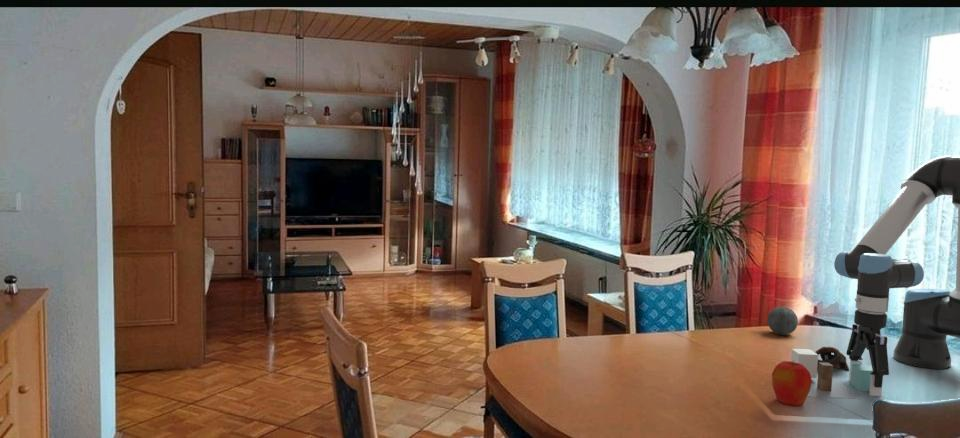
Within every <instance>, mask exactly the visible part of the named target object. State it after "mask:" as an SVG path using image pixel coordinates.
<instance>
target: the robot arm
mask: <svg viewBox="0 0 960 438" xmlns="http://www.w3.org/2000/svg"><path fill="white" fill-rule="evenodd" d="M941 196H951V197H952V200H951V201H952V202H951V203H952V204H953V206H955V207H956V208H957V210H958V211H957V234H956V235H957V241H956V270H955V271H956V272H955V274H956V275H955V289H953V290H952V291H950V290H947V289H938V288H913V289H909V290H907V291H906V292H905V296H904V301H903V313H902V314H903V315H902V329H901V335H900V337H899V339H898V341H897V343H896V345H895V348H894V350H893V359H894V360H896V361H898V362H900V363H903V364H906V365H909V366H915V367H919V368H925V369H936V370H937V369H939V370H940V369H941V370H943V369H944V370H945V369H949V368H950V367H951V366H952V358H951V353H950V350H949V345H948V342H947V336H950V337H953V338H958V339H960V155H941V156H938V157H935V158H932V159H930V160H928V161H927V162H925V163H923V164H921V165H920V166H918V167H917V168H916V169H915V170H913V171H911V173H910V174H908V176H907V177H906V178H905V179H904V180H903V182H902V183H901V185H900V191H899V193H898V194H897V195H896V196H895V198H893V200H892V201H891V202H890V204H889V205H888V206H887V207H886V209H885V210H884V211H883V212H882V213H881V215H880V216H879V217H878V218H877V219H876V221H875V222H874V223H873V225H872V226H871V227H870V228H869V230H868V231H867V232H866V233H865V234H864V236H863V237H862V238H861V240H860V241H859V242H858V243H857V245H856V246H855V247H854V248H853V249H852V251H850V250H848V251H845V250H844V251H841V252H838V254H837V255H836V256H835V260H834V263H833V266H834V270H835V271H836V273H837V274H838V275H839V276H843V277H845V278H848V279H851V280H853V279H854V280H857V284H856V285H857V290H856V297H855V298H854V301H855V308H856V309H855V311H854V318H853V322H854V324H852V327H851V334H850V338H849V342H848V345H847V349H846V356H848V357H849V358H848V359H849V360H850V361H849V374H848V381H849V382H851V371H852V364H857V365H863V364H862V363H863V358H862V356H863V354H864V353H865V350H867V351H868V354H869V358H870V359H869V360H870V365H872V369H873V372H871V373H870V374H871V379H870V391H868V393H869V394H868V395H869V396H872V397H874V396H875V397H882V393H883V391H882V390H883V381H884V380H883V379H884V376H889V375H890V371H889V370H890V369H889V357H888V356H889V354H888V337H887V336H883V335H882V334H881V329H885V328H886V327H887V321H888V314H887V312H888V311H889V302H890V301H889V300H890V297H889V296H890V289H901V288H903V289H904V288H905V289H908V288H912V287H916V286H918V285H920V284H921V283H922V282H923V279H924V277H925V274H924V273H925V271H924V268H923V267H922V265H921V264H920V263H919V262H918V261H916V260H914V259H913V260H912V259H905V258H904V259H894V258H893V257H892V256H891V255H889V254H887V253H888V252H889V251H890V250H891V248H892V247H893V246H894V245H895V243H897V241H898V240H899V238H900V237H901V236H902V235H903V233H905V231H906V230H907V229H908V227H909V226H910V225H911V224H912V223H913V221H914V220H915V219H916V217H917V216H918V215H919V213H920V212H921V211H922V210H923V208H925V206H926V205H930V204H932V203H933V202H934V201H935V200H936V198H938V197H941ZM948 367H949V368H948Z"/></svg>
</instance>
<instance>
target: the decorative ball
mask: <svg viewBox="0 0 960 438" xmlns="http://www.w3.org/2000/svg"><path fill="white" fill-rule="evenodd" d="M766 319H767V320H766V321H767V325H768V327H769V329H770V330H771V331H772V332H773V333H775V334H777V335H781V336H786V335H790V334H791V333H793V332H795V331H796V330H797V327H798V324H799V318H798V316H797V314H796V313H795V311H793V310H792V309H791V308H789V307H786V306H778V307H775V308H773V309H771V310H770V312H769V313H768V315H767V318H766Z"/></svg>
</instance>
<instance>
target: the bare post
mask: <svg viewBox="0 0 960 438" xmlns="http://www.w3.org/2000/svg"><path fill="white" fill-rule="evenodd" d="M833 371H834V368H833V365H831V364H830V363H822V362H819V368H818V369H817V373H818V381H817V388H818V389H819V390H821V391H831V388H832V377H833V375H834V373H833Z"/></svg>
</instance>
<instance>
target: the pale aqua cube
mask: <svg viewBox="0 0 960 438" xmlns="http://www.w3.org/2000/svg"><path fill="white" fill-rule="evenodd" d="M871 372H873V369H872V365H871V364H862V365H857V364H852V371H851V381H850V385H851V386H852V387H854V388H855V389H856V390H858V391H859V392H869V391H870V379H871V374H870V373H871Z"/></svg>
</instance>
